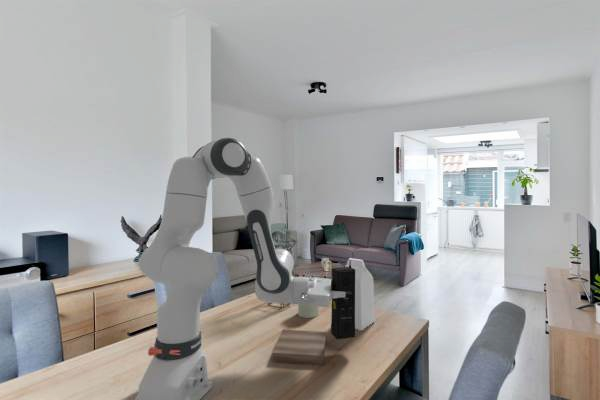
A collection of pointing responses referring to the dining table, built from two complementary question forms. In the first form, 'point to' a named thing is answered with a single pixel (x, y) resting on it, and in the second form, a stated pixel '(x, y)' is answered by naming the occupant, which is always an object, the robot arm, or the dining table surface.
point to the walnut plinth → (300, 347)
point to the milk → (363, 294)
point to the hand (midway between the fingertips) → (345, 292)
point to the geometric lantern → (282, 248)
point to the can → (308, 311)
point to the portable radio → (343, 303)
